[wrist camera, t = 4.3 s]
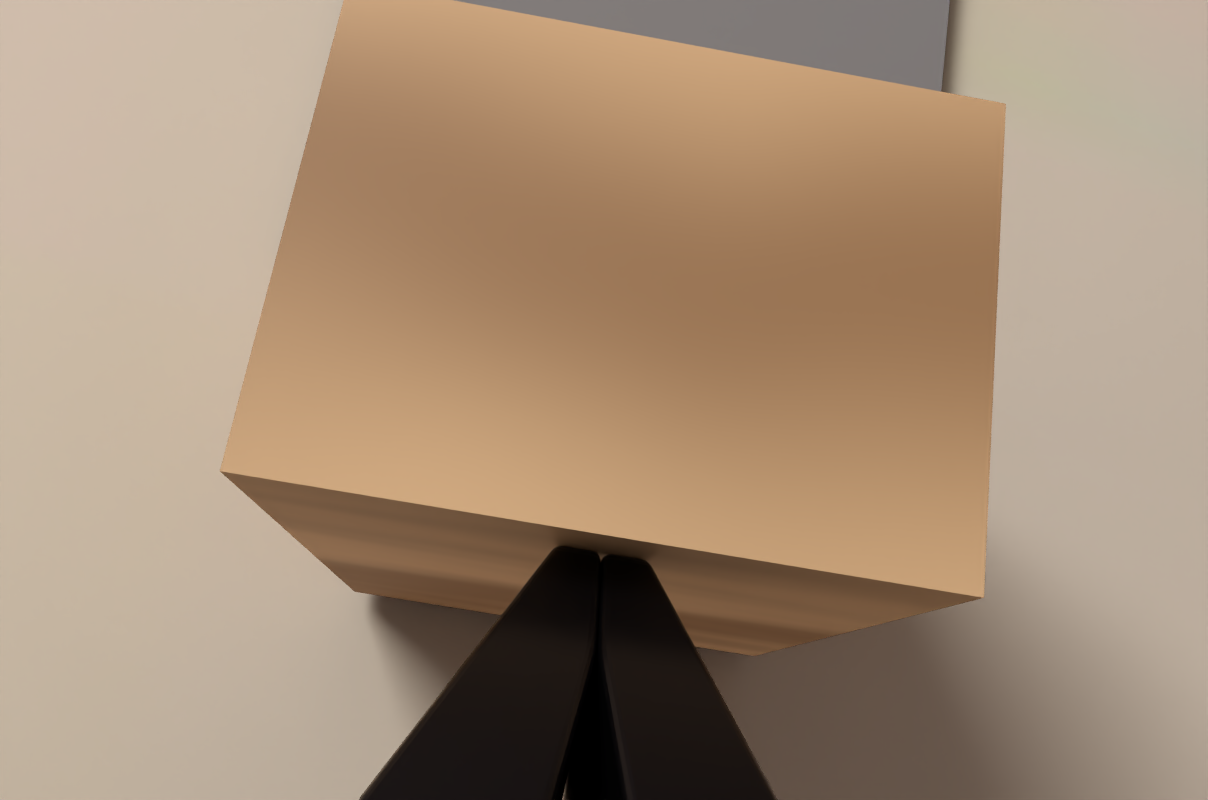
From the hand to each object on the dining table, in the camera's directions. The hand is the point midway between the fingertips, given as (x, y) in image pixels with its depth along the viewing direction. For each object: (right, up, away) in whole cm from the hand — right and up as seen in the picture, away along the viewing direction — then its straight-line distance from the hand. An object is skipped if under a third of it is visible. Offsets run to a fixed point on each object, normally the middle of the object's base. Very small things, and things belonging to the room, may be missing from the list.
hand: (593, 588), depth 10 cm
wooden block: (0, 0, +7) cm, 7 cm away
